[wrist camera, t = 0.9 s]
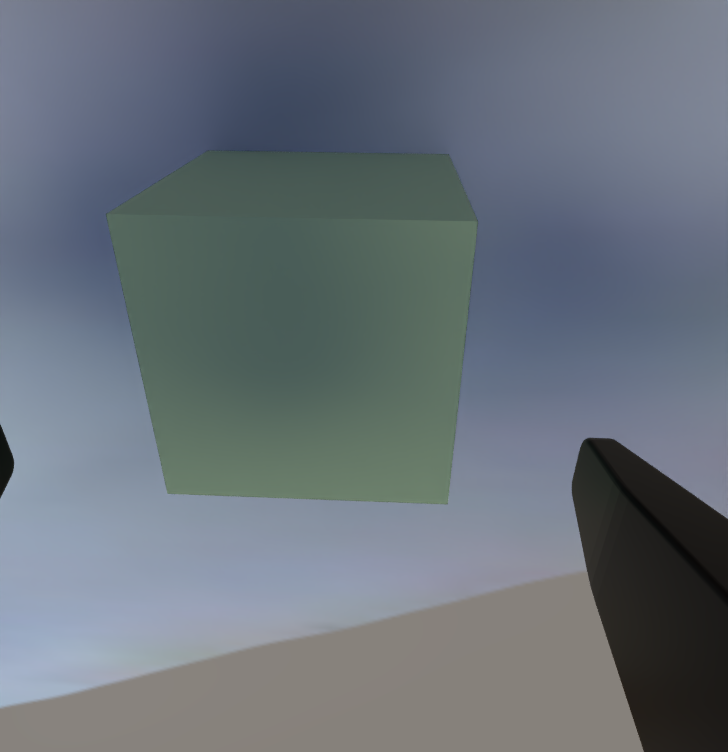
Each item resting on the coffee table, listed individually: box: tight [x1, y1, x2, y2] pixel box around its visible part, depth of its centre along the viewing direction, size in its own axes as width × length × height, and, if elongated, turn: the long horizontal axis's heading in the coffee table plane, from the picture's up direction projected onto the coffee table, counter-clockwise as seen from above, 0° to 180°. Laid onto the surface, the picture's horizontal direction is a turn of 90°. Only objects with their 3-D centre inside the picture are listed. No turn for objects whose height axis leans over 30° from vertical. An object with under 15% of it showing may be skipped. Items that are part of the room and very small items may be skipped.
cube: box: [106, 151, 478, 504], centre depth 13 cm, size 6×6×6 cm
